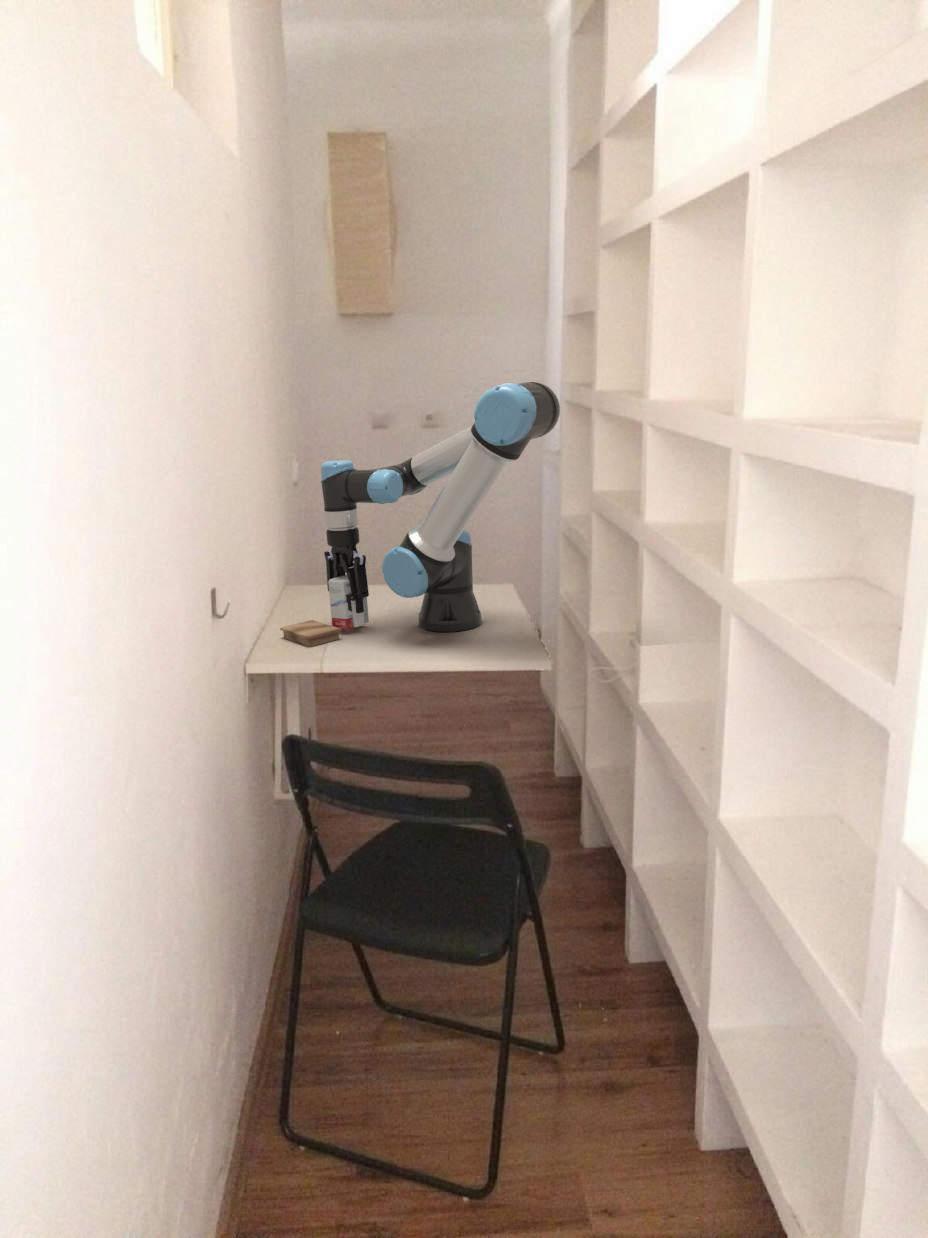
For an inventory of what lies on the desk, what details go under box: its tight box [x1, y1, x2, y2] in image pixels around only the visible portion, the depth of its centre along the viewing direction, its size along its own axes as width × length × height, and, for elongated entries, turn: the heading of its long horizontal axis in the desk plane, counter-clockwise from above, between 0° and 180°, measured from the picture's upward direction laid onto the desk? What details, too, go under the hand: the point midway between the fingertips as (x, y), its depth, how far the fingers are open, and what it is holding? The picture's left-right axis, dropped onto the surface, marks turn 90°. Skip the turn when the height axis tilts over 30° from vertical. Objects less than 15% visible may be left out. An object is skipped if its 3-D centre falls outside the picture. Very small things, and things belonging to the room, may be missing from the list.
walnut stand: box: [279, 619, 343, 648], centre depth 225 cm, size 12×9×2 cm
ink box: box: [328, 573, 370, 631], centre depth 230 cm, size 9×5×12 cm, turn 148°
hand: (350, 623), depth 231 cm, fingers closed on ink box, 6 cm apart
